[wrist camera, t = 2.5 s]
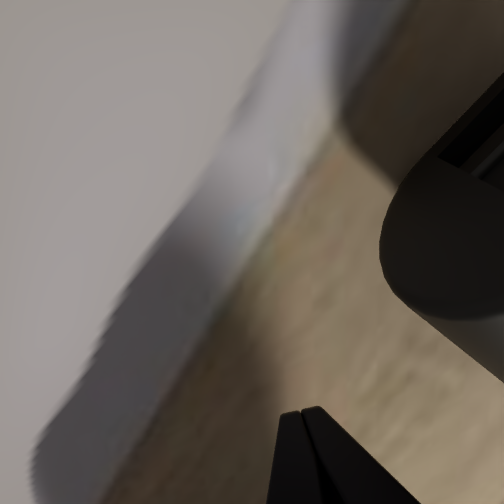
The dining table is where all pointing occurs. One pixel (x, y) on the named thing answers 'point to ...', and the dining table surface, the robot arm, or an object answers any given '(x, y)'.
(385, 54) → the dining table surface
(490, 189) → the end cap
